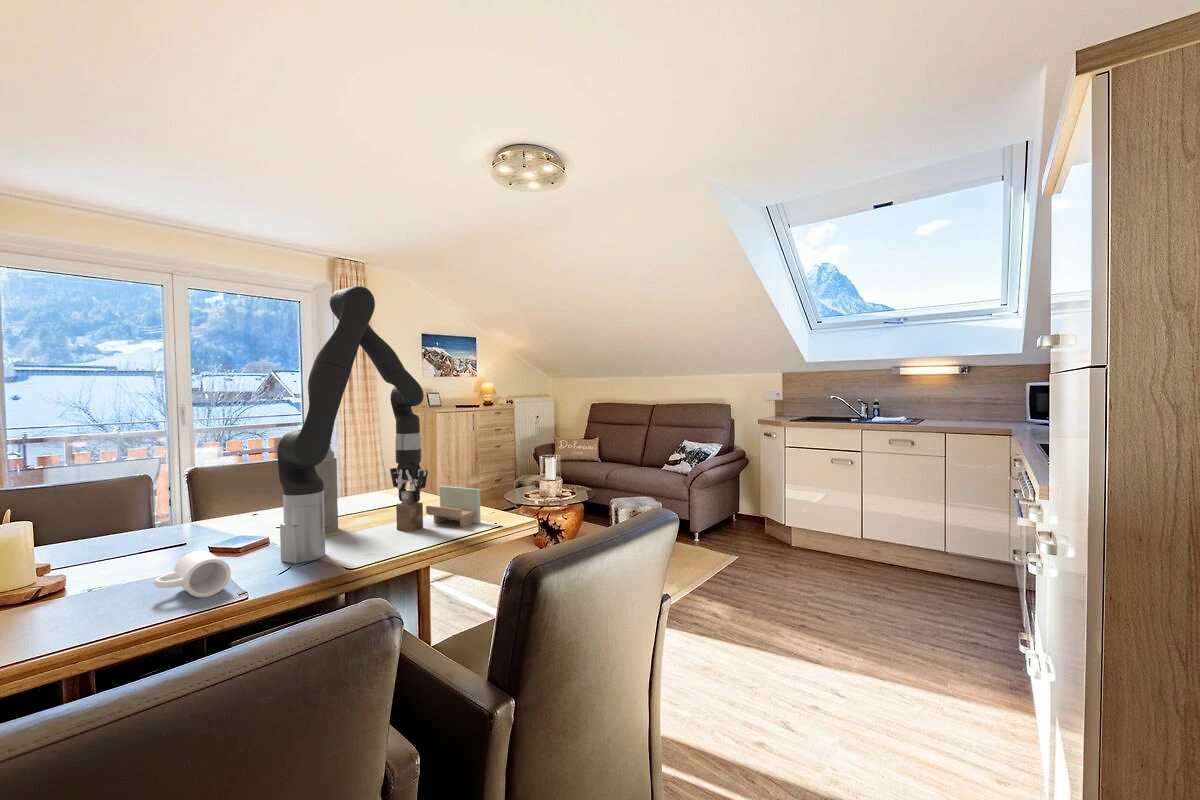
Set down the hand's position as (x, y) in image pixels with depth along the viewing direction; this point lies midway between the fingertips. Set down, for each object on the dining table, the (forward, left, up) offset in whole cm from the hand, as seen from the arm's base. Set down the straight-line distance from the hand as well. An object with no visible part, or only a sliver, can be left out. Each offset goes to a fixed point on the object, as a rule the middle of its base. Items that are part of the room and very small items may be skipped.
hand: (409, 501), depth 161 cm
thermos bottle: (-12, +24, -9) cm, 28 cm away
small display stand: (+10, -8, -9) cm, 16 cm away
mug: (-58, +4, -9) cm, 59 cm away
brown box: (0, 0, -9) cm, 9 cm away
